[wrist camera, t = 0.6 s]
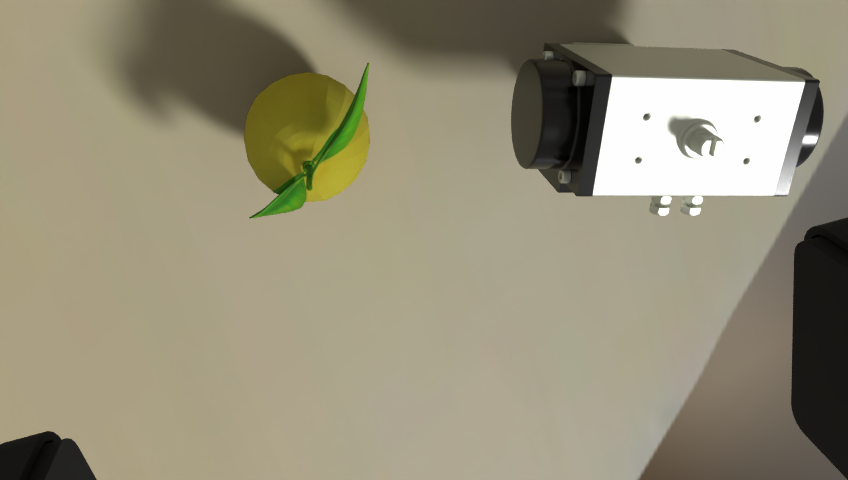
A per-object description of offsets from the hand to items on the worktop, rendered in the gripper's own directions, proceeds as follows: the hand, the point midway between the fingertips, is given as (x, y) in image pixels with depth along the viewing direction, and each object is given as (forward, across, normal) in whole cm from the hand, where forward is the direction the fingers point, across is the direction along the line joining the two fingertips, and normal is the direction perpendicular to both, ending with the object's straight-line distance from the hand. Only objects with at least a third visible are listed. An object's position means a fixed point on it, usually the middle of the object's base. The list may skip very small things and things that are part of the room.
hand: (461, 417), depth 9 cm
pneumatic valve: (+28, -12, +5) cm, 31 cm away
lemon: (+28, +3, +3) cm, 29 cm away
